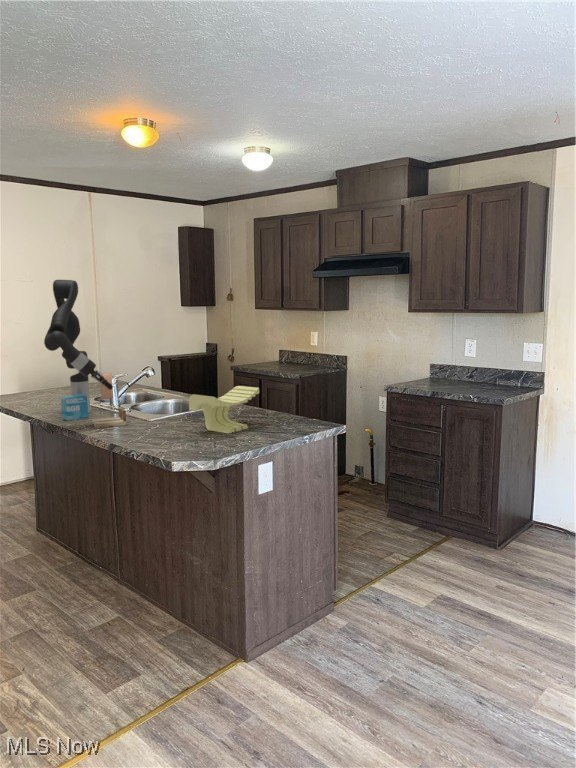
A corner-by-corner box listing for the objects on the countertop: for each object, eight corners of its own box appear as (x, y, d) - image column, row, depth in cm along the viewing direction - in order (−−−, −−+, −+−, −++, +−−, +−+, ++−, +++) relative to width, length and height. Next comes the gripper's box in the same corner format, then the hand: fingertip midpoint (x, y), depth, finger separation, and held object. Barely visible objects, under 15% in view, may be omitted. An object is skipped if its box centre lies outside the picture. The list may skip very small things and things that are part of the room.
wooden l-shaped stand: (92, 423, 288) (91, 409, 287) (121, 420, 294) (120, 406, 293) (96, 428, 277) (95, 413, 276) (126, 425, 283) (125, 410, 282)
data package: (65, 421, 295) (63, 397, 293) (62, 420, 298) (60, 396, 296) (88, 417, 303) (87, 394, 301) (84, 416, 306) (83, 393, 304)
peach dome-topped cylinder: (100, 398, 285) (99, 373, 283) (111, 397, 287) (110, 372, 285) (102, 399, 280) (101, 374, 278) (113, 398, 282) (112, 373, 281)
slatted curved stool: (234, 421, 289) (233, 385, 286) (259, 424, 279) (259, 387, 276) (190, 432, 265) (188, 393, 262) (215, 437, 255) (214, 396, 253)
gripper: (90, 359, 271) (118, 383, 278) (86, 357, 284) (113, 380, 291) (79, 371, 270) (108, 395, 277) (75, 368, 282) (103, 391, 289)
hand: (110, 387), depth 284 cm, fingers closed on peach dome-topped cylinder, 5 cm apart
